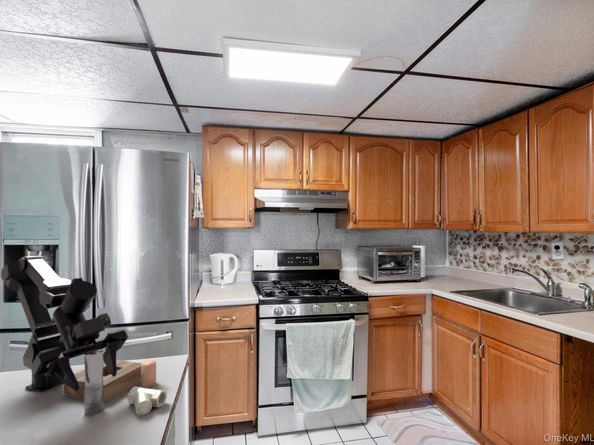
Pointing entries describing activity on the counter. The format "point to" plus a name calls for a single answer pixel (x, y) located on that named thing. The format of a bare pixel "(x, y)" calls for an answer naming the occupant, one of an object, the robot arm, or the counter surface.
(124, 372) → the walnut block
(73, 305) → the robot arm
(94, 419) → the counter surface
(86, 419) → the counter surface
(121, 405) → the counter surface
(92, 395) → the tall metal pin
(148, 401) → the pipe fitting
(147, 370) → the short terracotta pin
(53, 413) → the counter surface
